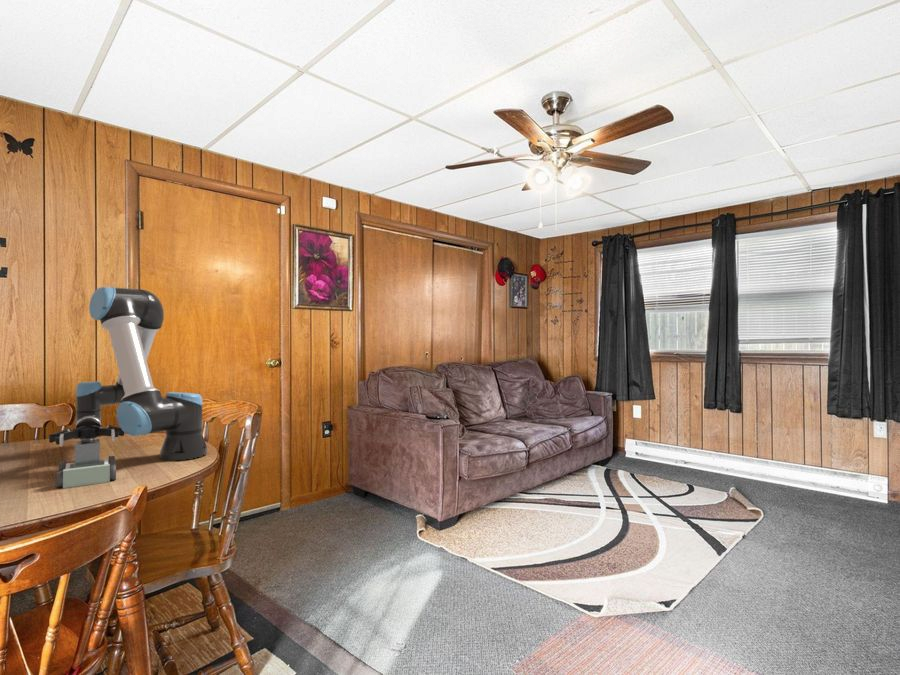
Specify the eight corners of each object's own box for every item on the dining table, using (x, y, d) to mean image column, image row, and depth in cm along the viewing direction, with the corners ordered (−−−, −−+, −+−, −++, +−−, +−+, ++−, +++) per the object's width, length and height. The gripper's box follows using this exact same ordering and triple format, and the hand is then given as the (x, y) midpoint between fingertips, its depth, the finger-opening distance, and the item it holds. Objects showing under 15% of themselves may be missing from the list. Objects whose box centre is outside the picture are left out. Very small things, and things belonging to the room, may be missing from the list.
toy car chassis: (59, 474, 152) (59, 458, 152) (114, 467, 161) (114, 452, 161) (55, 489, 139) (55, 471, 138) (116, 481, 147) (116, 464, 147)
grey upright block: (75, 470, 150) (75, 438, 150) (99, 467, 154) (99, 435, 154) (74, 475, 145) (74, 441, 145) (99, 472, 149) (99, 439, 149)
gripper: (129, 434, 182) (133, 446, 164) (43, 442, 167) (37, 456, 150) (130, 414, 181) (133, 424, 164) (43, 421, 167) (37, 432, 150)
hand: (87, 439), depth 157 cm, fingers open, 13 cm apart
